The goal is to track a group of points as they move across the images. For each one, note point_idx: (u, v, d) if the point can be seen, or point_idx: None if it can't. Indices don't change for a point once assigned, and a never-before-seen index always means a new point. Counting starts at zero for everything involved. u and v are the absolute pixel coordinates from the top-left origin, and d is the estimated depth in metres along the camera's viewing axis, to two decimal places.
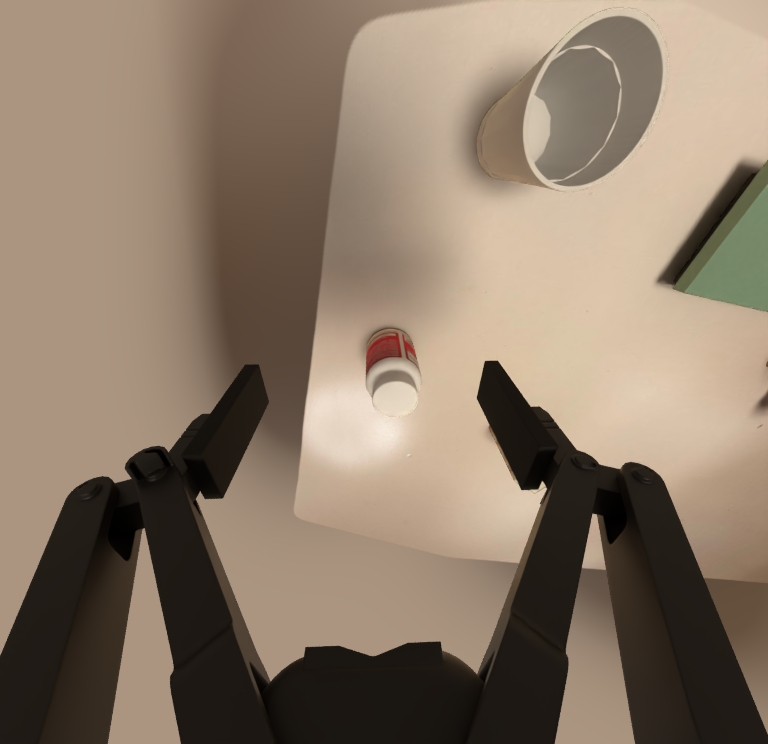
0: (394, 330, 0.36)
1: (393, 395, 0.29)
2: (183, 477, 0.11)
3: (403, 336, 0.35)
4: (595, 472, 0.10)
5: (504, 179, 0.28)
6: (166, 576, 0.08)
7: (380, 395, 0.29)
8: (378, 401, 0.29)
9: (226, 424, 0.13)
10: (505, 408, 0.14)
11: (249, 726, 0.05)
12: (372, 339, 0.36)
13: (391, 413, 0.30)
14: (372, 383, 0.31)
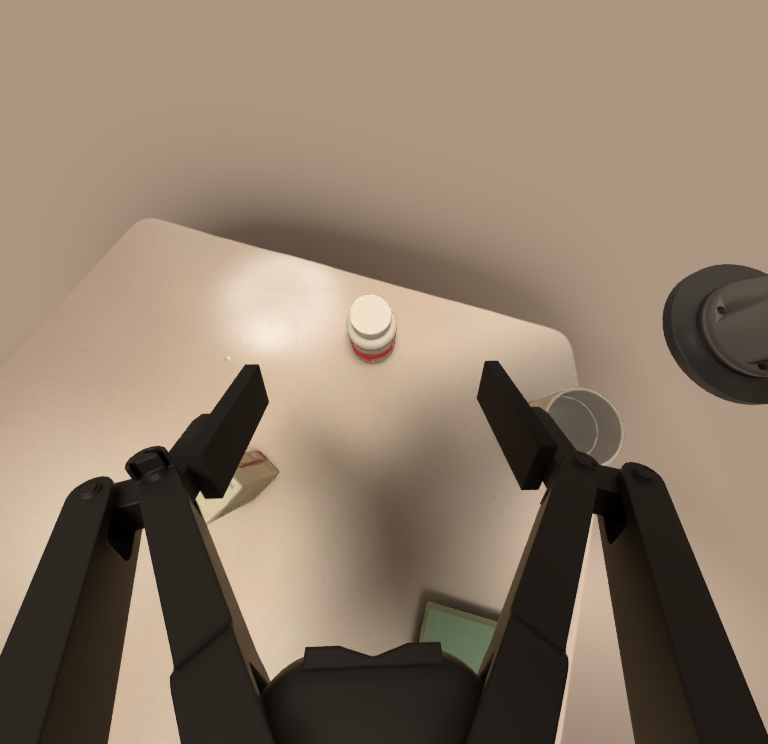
0: None
1: (376, 312, 0.32)
2: (183, 477, 0.11)
3: (391, 351, 0.40)
4: (595, 472, 0.10)
5: None
6: (166, 576, 0.08)
7: (377, 301, 0.32)
8: (370, 299, 0.32)
9: (226, 424, 0.13)
10: (505, 408, 0.14)
11: (249, 726, 0.05)
12: None
13: (355, 310, 0.32)
14: None
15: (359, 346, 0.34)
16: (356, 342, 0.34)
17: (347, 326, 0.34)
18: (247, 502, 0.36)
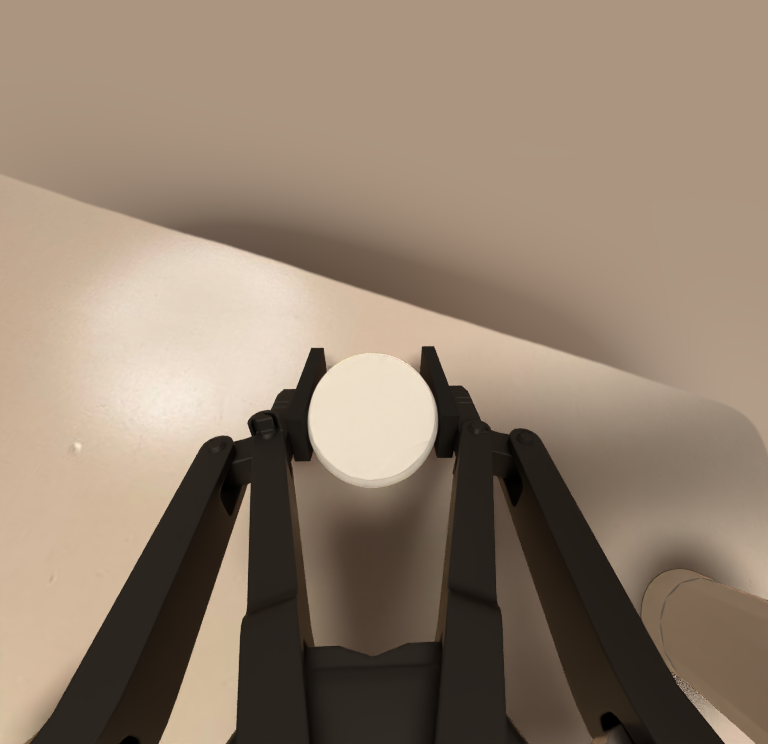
0: None
1: (390, 409, 0.11)
2: (286, 442, 0.12)
3: None
4: (487, 434, 0.12)
5: (653, 623, 0.18)
6: (257, 526, 0.09)
7: (394, 375, 0.11)
8: (373, 367, 0.11)
9: (311, 396, 0.14)
10: (430, 387, 0.16)
11: (291, 704, 0.05)
12: None
13: (326, 399, 0.11)
14: None
15: None
16: (331, 471, 0.13)
17: (309, 425, 0.13)
18: None
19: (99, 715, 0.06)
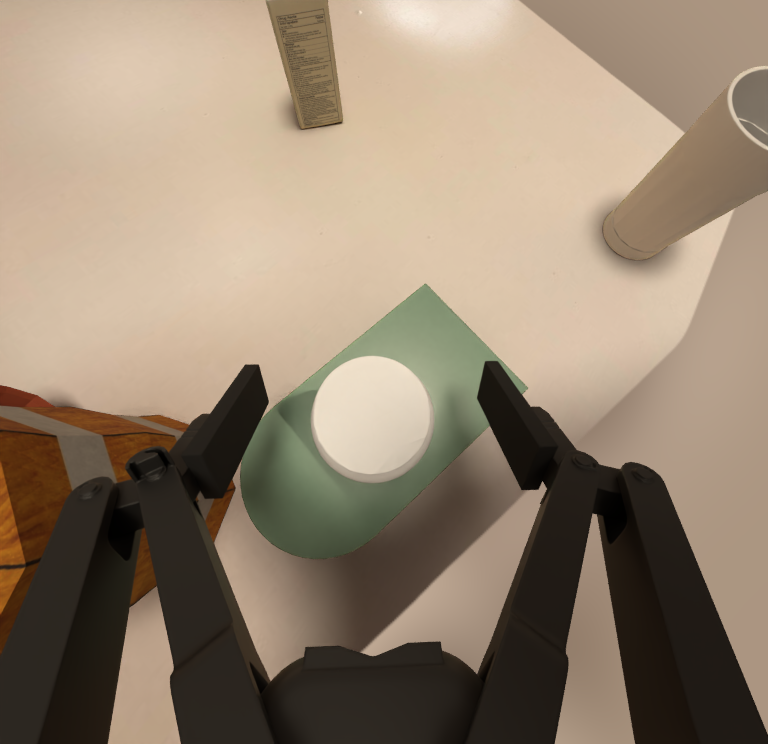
0: None
1: (388, 408, 0.11)
2: (183, 477, 0.11)
3: None
4: (595, 472, 0.10)
5: (613, 210, 0.30)
6: (166, 576, 0.08)
7: (392, 376, 0.12)
8: (373, 369, 0.12)
9: (226, 424, 0.13)
10: (505, 408, 0.14)
11: (249, 726, 0.05)
12: None
13: (329, 399, 0.11)
14: None
15: None
16: (333, 467, 0.13)
17: (313, 424, 0.14)
18: (299, 109, 0.31)
19: None
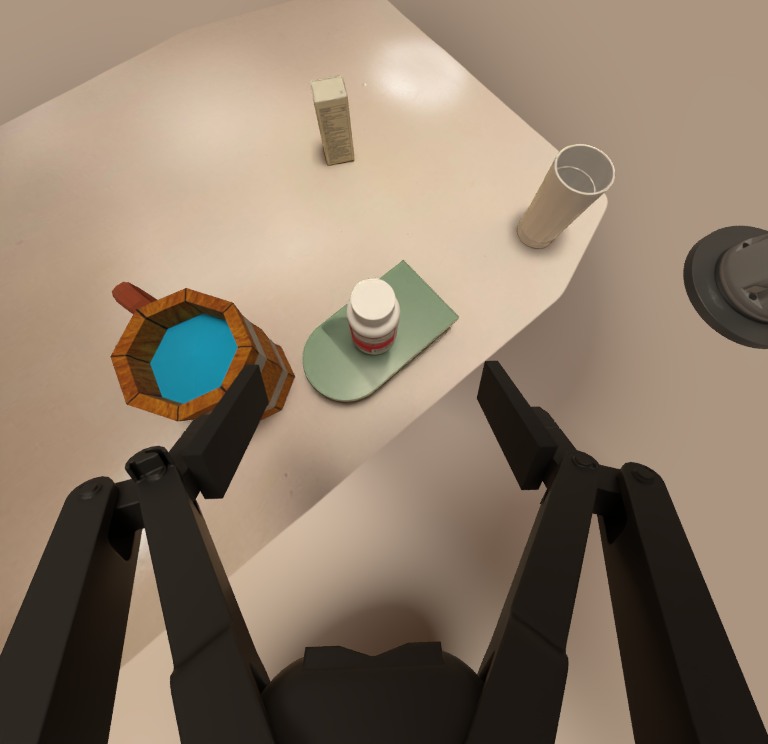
0: (395, 337, 0.40)
1: (379, 297, 0.30)
2: (183, 477, 0.11)
3: (392, 342, 0.39)
4: (595, 472, 0.10)
5: (523, 217, 0.49)
6: (166, 576, 0.08)
7: (380, 285, 0.30)
8: (373, 283, 0.30)
9: (226, 424, 0.13)
10: (505, 408, 0.14)
11: (249, 726, 0.05)
12: None
13: (356, 293, 0.30)
14: None
15: (359, 333, 0.32)
16: (356, 329, 0.32)
17: (347, 311, 0.32)
18: (327, 154, 0.49)
19: None
